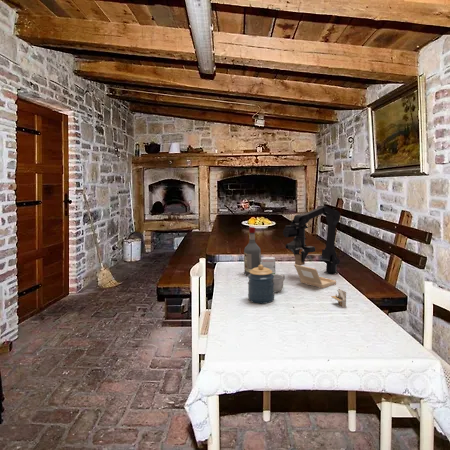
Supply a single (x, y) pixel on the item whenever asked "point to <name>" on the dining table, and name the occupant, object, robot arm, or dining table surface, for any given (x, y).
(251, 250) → the liquor
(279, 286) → the teacup
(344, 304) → the architectural model
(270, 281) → the canister
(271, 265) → the ink box
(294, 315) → the dining table surface
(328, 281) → the box
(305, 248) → the robot arm
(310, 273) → the mailer lid
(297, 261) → the walnut block
